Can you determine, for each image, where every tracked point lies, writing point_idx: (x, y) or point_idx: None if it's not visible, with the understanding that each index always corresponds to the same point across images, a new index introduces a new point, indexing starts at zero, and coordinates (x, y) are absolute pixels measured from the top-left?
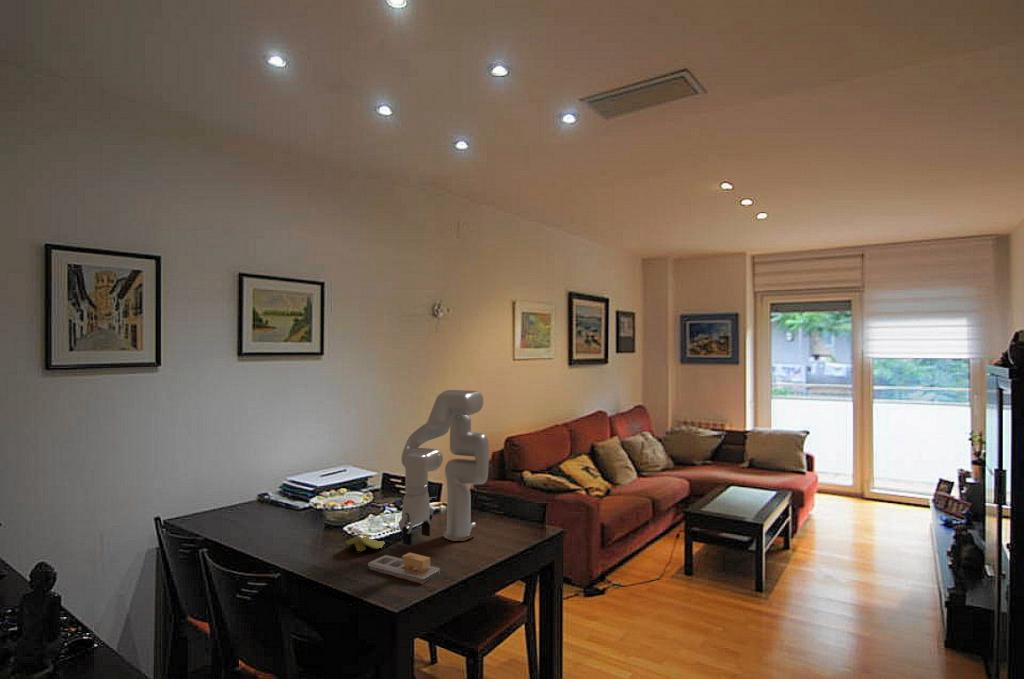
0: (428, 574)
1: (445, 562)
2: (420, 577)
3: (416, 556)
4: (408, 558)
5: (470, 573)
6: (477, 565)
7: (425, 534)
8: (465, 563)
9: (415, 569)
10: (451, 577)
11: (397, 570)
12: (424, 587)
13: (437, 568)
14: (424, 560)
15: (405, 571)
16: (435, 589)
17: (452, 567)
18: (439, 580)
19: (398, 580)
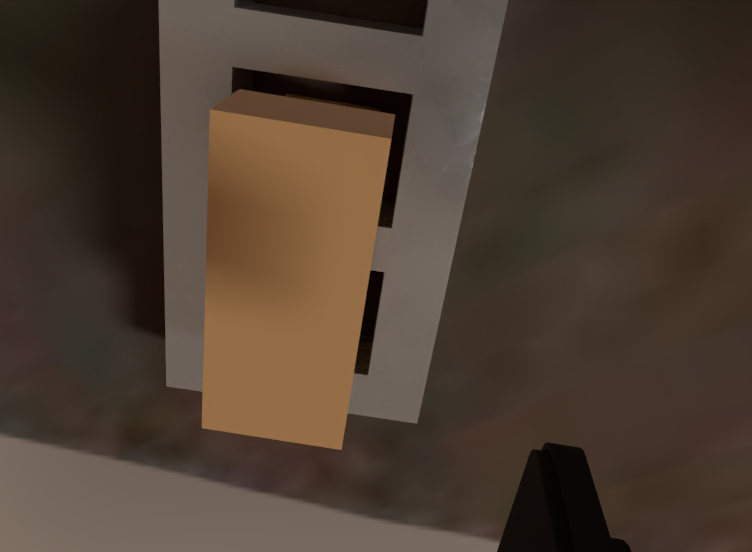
0: None
1: (738, 305)
2: (170, 359)
3: (297, 300)
4: (210, 224)
5: None
6: (714, 540)
7: (512, 535)
8: (743, 457)
9: None
10: (417, 468)
11: (160, 74)
12: (157, 378)
13: (400, 413)
14: (232, 432)
15: (186, 177)
16: (173, 455)
17: (624, 403)
18: None
19: (148, 108)
